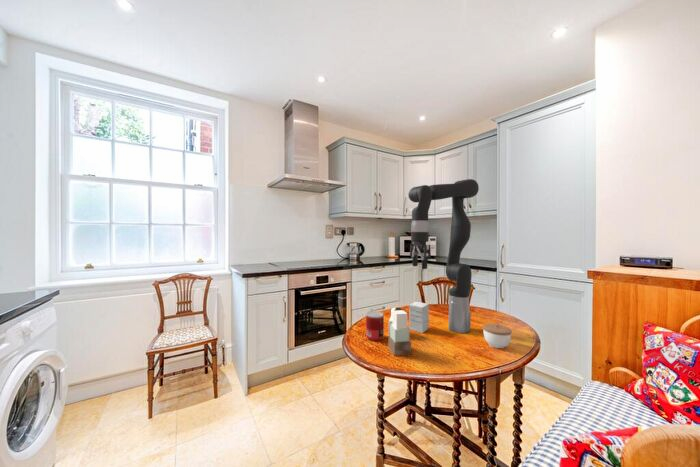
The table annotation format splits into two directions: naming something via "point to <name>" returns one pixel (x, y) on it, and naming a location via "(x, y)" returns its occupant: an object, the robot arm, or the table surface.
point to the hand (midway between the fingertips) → (419, 267)
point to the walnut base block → (399, 347)
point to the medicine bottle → (391, 316)
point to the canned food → (375, 325)
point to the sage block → (399, 334)
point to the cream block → (399, 319)
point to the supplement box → (419, 316)
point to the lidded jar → (497, 335)
